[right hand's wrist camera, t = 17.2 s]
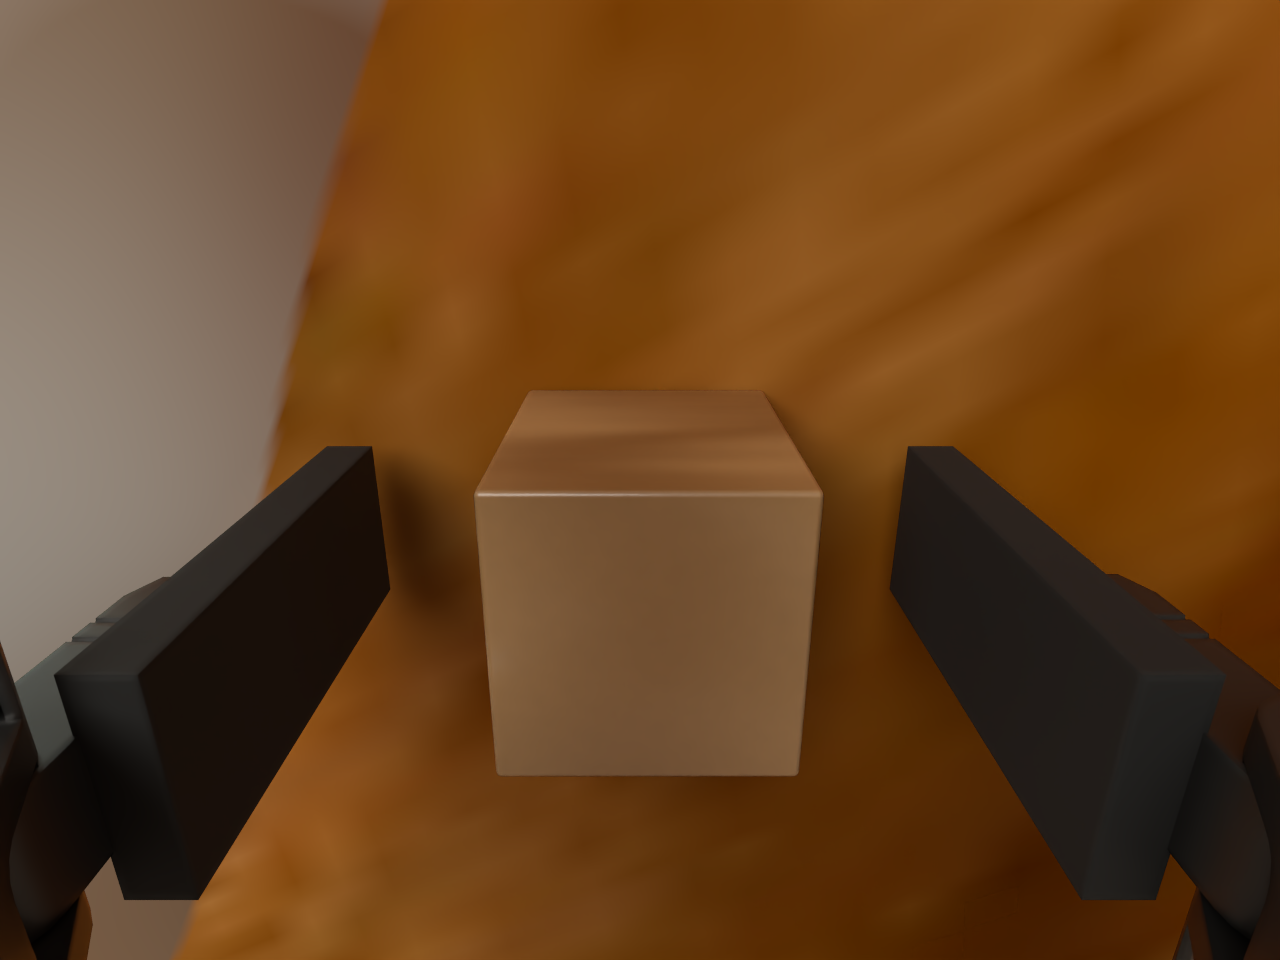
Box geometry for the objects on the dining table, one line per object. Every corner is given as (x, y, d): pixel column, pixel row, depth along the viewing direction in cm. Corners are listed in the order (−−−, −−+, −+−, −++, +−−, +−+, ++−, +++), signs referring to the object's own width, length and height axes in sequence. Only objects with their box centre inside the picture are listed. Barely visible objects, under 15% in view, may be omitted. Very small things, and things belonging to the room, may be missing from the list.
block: (763, 389, 14) (825, 492, 9) (751, 600, 15) (799, 778, 11) (527, 388, 14) (471, 492, 9) (539, 600, 15) (495, 779, 11)
